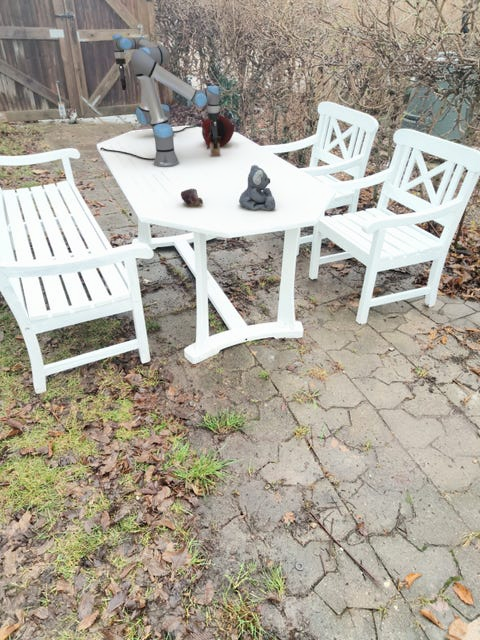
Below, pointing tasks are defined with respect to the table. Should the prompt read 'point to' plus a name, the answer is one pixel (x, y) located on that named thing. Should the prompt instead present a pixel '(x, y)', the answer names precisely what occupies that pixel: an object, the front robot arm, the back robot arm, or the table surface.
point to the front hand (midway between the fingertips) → (214, 146)
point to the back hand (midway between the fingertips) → (124, 88)
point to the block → (215, 150)
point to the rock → (191, 197)
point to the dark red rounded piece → (218, 130)
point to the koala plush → (257, 191)
